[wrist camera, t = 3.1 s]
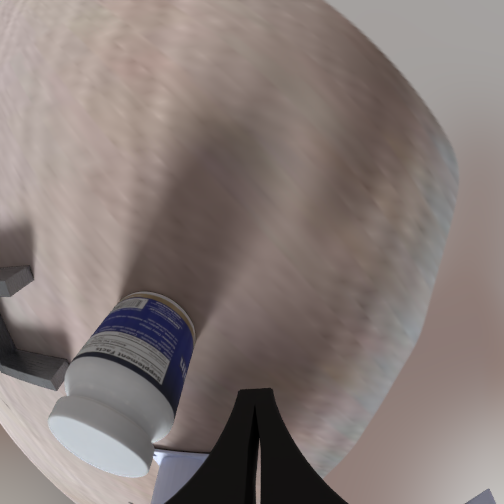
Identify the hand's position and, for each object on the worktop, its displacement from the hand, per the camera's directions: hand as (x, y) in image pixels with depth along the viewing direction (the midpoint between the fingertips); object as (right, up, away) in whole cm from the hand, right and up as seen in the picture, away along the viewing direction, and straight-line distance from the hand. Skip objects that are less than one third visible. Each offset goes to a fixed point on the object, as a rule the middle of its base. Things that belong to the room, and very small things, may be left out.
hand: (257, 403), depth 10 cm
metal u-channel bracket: (-21, 0, +7) cm, 22 cm away
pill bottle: (-7, +2, +6) cm, 9 cm away
